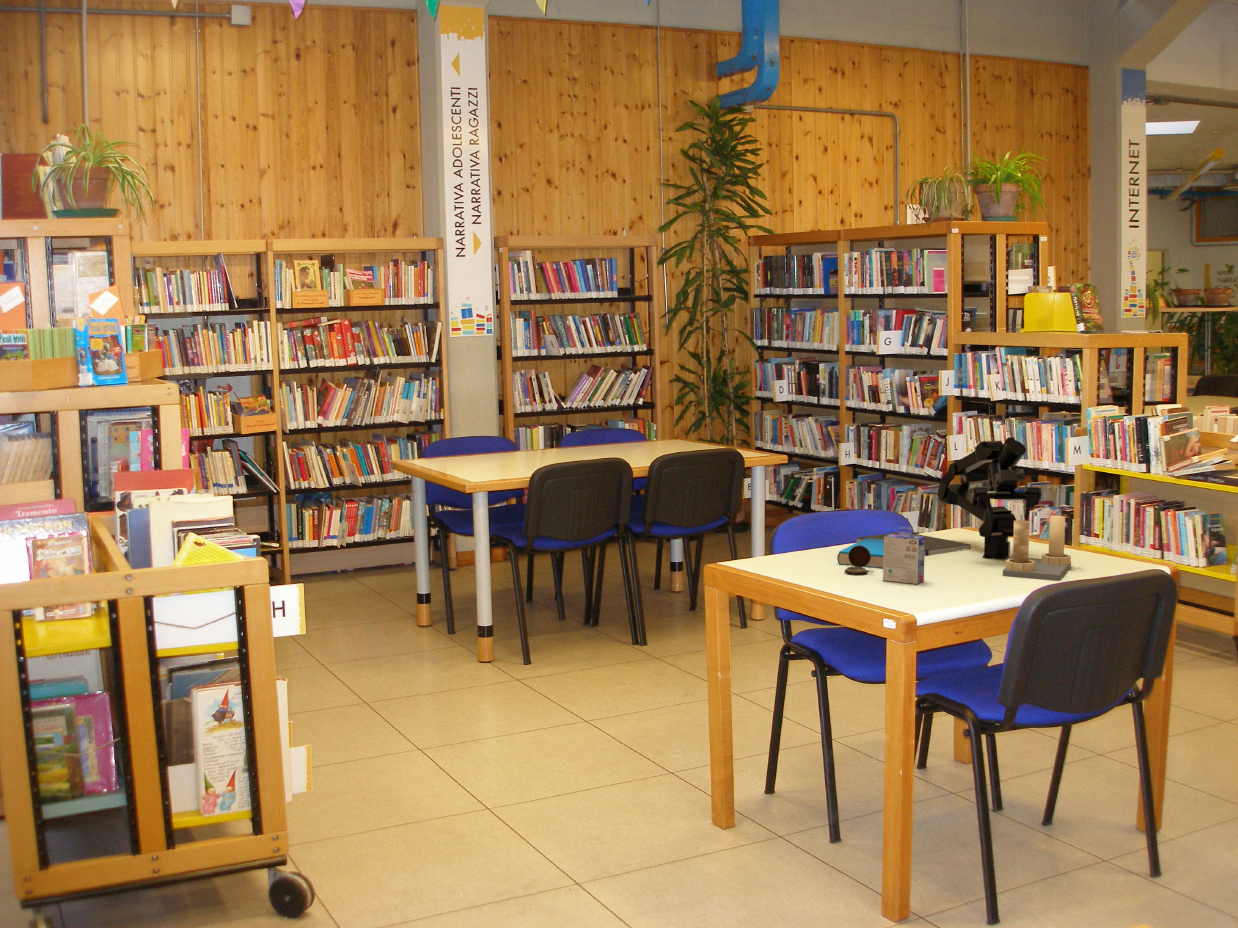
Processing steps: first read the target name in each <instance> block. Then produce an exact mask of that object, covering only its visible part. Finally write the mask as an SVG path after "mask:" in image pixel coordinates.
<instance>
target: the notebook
mask: <svg viewBox="0 0 1238 928" xmlns="http://www.w3.org/2000/svg"><path fill="white" fill-rule="evenodd" d="M898 532H899V531H897V532H890V533H883V534H875V535H874V534H873V535H866V536H857V537H855V539H856V543H857V542H860V541H862V540H864V539H866V538H869V539H881V540H884V537H885V536H887V535H889V534H894V535H898ZM912 536H924V537H925V553H924V557H926V556H927V557H928V556H932V555H938V554H947V553H952V551H953V552H957V551H956V550H960V551H964V550H963V549H966V550H971V543H966V542H960V541H955V540H950V539H944V538H939V537H934V536H929V535H923V534H920V533H919V534H918V533H913V532H912ZM946 552H947V553H946Z"/></svg>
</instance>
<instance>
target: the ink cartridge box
mask: <svg viewBox="0 0 1238 928" xmlns="http://www.w3.org/2000/svg"><path fill="white" fill-rule="evenodd" d="M902 530H907V531H902ZM908 531H909V532H908ZM897 532H898V535H894V534H889V535H887V536H885V537H884V558H883V567H882V568H883V570H882V581H886V582H888V581H889V582H897V583H905V584H914V585H918V584H921V583H923V582H925V556H924V553H925V537H924V536H925V535H924V536H912V533H913V527H912V526H903V525H901V526H899V530H898V531H897Z"/></svg>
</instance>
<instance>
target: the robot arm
mask: <svg viewBox="0 0 1238 928" xmlns="http://www.w3.org/2000/svg"><path fill="white" fill-rule="evenodd" d="M1026 448H1027V447H1026V446H1025V445H1024V444H1023V443H1022V442H1020V441H1018V440H1016V439H1015V437H1007V438H1006V439H1005V441H1004V443H1003V441H1002V440H983V441H979V443H978V444H977V445H976V446H974V451H973V452H971V453H969V454H968V455H966V456H963V457H962V458H960V459H959V460H957V461H955V462H952V463H950V464H949V465H948V468H947V472H946V473H945V474H943V475H944V476H942V478H941V479H940V481H939V485H938V489H937V497H938V498H939V501H940V502H942V503H944V504H947V505H953V506H958V507H959V508H961V509H963V510H964V511H966V512H967V513H969V514H971V515H972V516H973V517H975V518H977V519H979V520H980V521H982V522H983V523H982V524H981V525H980V527H979V528H978V533H979V534H978V535H979V536H980V537H983V538H984V544H983V545H984V547H983V549H984V550H983V555H982V558H984V559H985V558H986V559H996V560H1007V558H1010V555H1011V541H1009V538H1011V537H1012V538H1013V536H1014V521H1016V520H1017V518H1016V515H1015V514H1014V513H1013V510H1009V509H1008V508H1007V507H1005V506H1004V505H1003V506H1002V505H1001V506H992V503H991V500H1003V501H1007V500H1008V501H1010V500H1013V501H1014V500H1015V501H1017V500H1018V501H1019V500H1022V504H1023V507H1022V509H1023V515H1024V516H1023V517H1024V521H1029V515H1030V510H1031V509H1032V508H1035V507H1036V506H1038V505H1039V503H1040V500H1041V497H1042V494H1043V493H1042V489H1041V488H1040V487H1039V486H1025V488H1024V491H1016V489H1018V482H1023V481H1024V480H1025V477H1026V475H1025V471H1024V468H1017V469H1012V468H1013V467H1016V465H1017V464H1018V463H1019V462H1020V460H1021V459H1022V458H1023V457H1024V455H1025V454H1026V452H1027V449H1026ZM989 462H990V463H989ZM986 463H989V466H988V468H987V471H986V472H987V474H990V476H991V480H992V481H991V482H992V486H991V487H992V489H993V491H989V489H988V487H987V486H974V487H973V489H972V491H971V494H970V485H971V484H970V480H969V478H968V475H969V472H971V471H974V470H975V469H977V468H979V467H980V466H983V465H984V464H986ZM956 476H960V477H961V479H962V480H961V482H960V483H951V482H953V480H954V479H955V477H956Z"/></svg>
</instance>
